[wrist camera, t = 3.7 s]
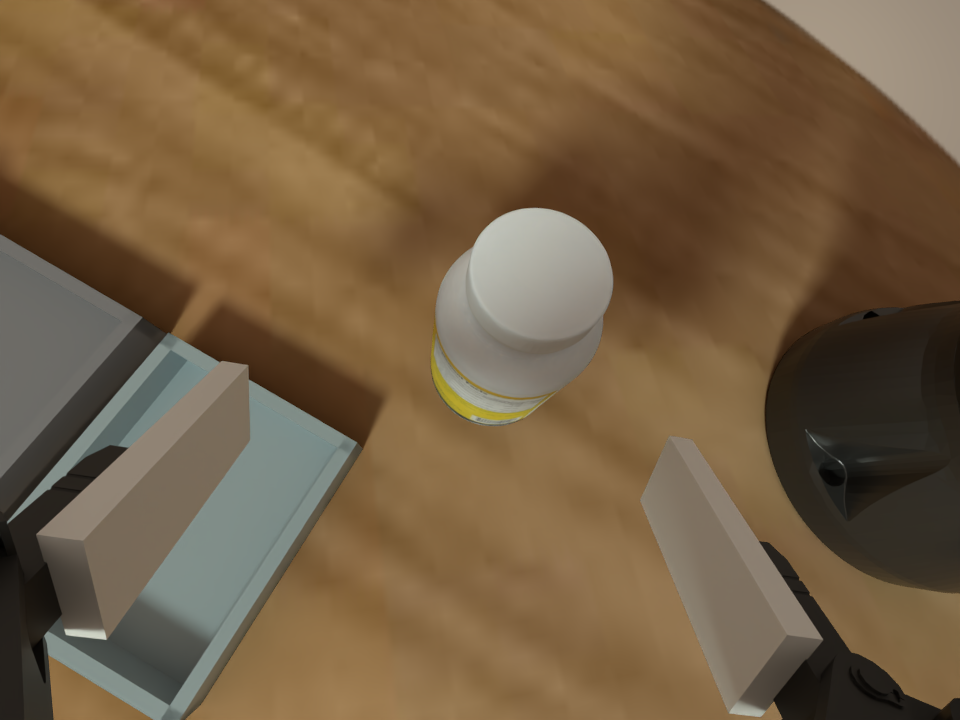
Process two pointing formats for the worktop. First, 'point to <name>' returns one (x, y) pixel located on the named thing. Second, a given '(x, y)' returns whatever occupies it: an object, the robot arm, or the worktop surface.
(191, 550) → the slate tray
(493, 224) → the pill bottle
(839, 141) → the worktop surface
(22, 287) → the charcoal tray
